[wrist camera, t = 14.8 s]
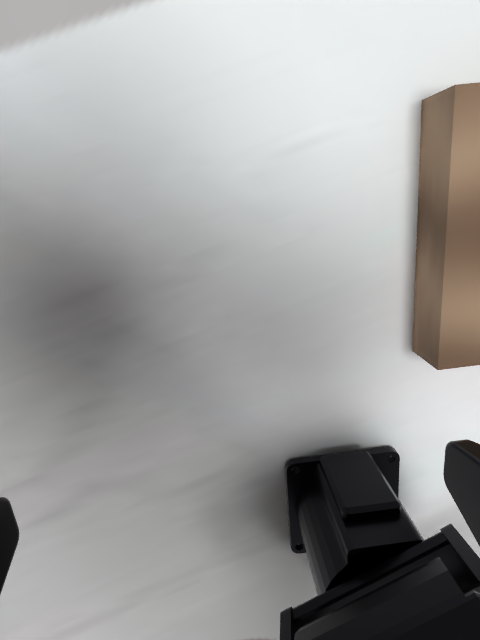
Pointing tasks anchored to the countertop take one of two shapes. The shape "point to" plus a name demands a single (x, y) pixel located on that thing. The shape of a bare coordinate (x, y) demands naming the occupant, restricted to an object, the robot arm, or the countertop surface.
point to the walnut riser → (449, 230)
